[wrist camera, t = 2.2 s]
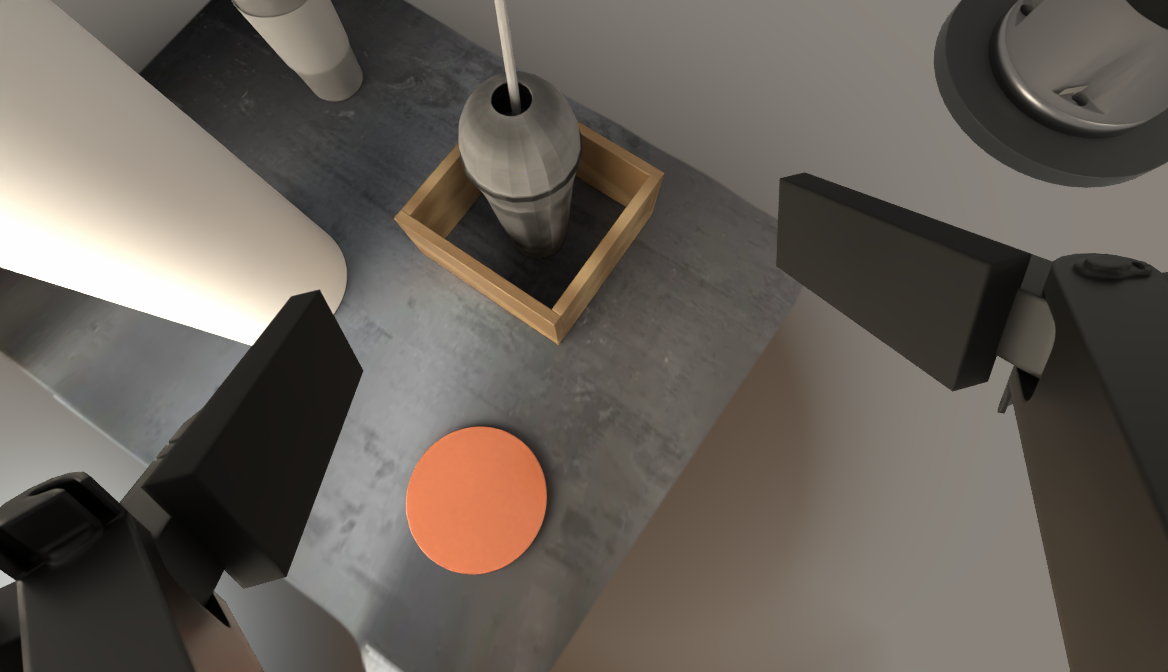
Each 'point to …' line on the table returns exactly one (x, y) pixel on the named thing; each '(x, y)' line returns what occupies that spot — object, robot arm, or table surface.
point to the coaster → (476, 500)
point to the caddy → (432, 223)
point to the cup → (308, 43)
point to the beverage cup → (522, 151)
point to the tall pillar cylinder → (138, 191)
